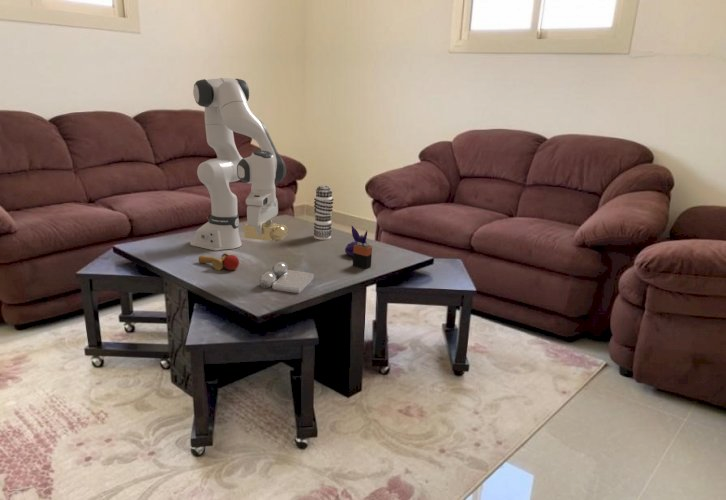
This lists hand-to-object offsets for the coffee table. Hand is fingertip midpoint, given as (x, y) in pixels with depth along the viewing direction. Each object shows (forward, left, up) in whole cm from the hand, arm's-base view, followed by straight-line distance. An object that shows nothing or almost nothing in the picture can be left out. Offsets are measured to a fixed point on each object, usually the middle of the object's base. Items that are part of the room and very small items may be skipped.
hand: (263, 232), depth 195 cm
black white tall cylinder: (+4, +60, -18) cm, 62 cm away
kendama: (-21, +4, -18) cm, 28 cm away
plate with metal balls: (+11, -2, -18) cm, 21 cm away
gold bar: (+1, 0, -2) cm, 2 cm away
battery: (+32, +27, -18) cm, 45 cm away
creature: (+26, +42, -18) cm, 53 cm away
